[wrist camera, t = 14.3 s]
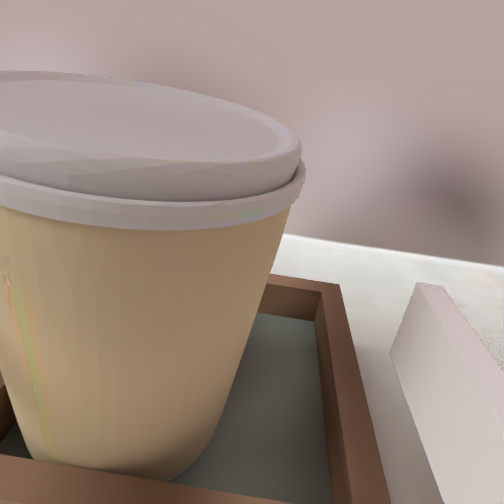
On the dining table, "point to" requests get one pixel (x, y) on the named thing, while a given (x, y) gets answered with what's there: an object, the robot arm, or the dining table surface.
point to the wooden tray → (248, 423)
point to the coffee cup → (131, 262)
